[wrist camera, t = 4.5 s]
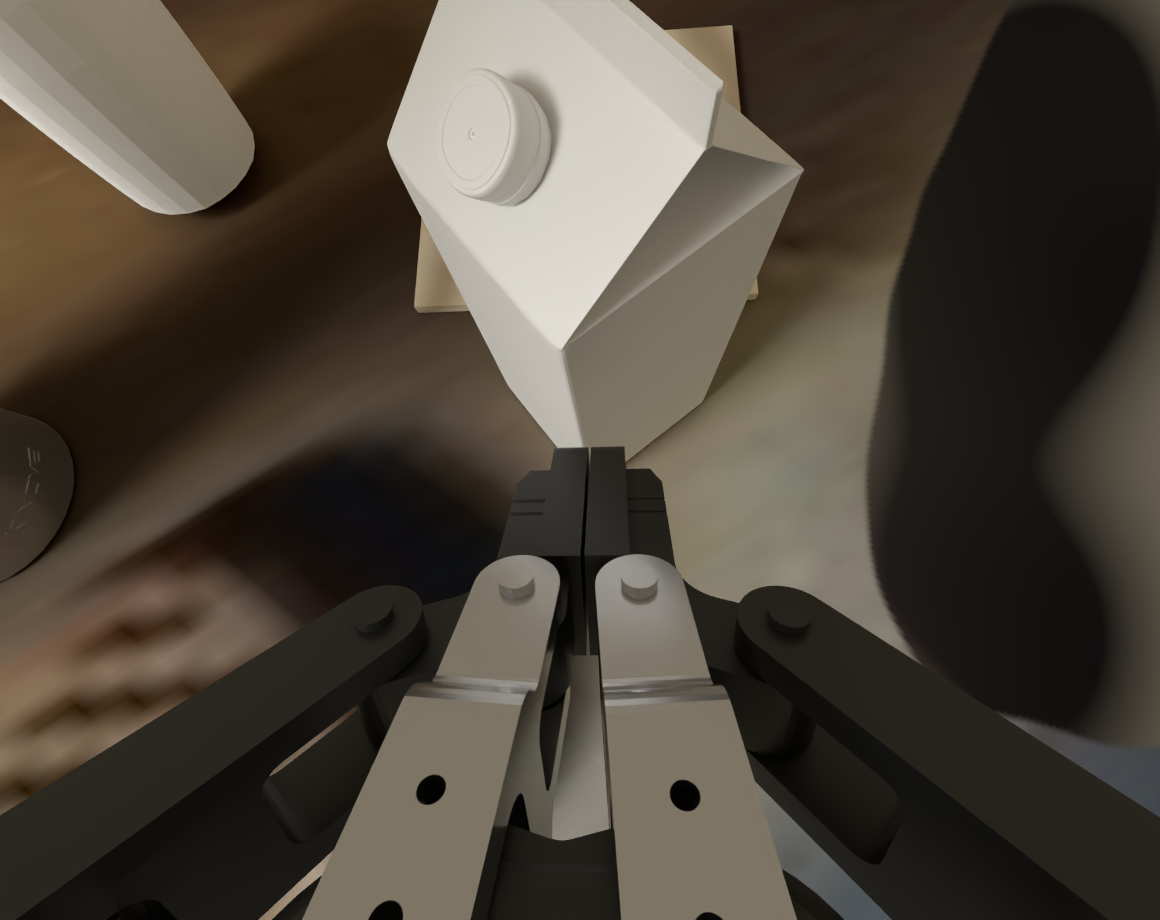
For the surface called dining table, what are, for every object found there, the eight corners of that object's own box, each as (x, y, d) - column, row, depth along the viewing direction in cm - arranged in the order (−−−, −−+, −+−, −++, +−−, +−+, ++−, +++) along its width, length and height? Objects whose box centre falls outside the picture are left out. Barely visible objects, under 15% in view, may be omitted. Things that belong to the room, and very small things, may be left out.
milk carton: (614, 305, 28) (607, -240, 10) (703, 403, 26) (897, -37, 8) (506, 385, 27) (283, -44, 9) (591, 490, 26) (526, 224, 7)
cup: (127, 150, 33) (-217, -164, 20) (252, 98, 34) (1, -245, 20) (155, 256, 31) (-210, -14, 17) (289, 199, 31) (35, -110, 18)
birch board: (418, 312, 29) (414, 306, 28) (439, 56, 33) (436, 46, 33) (755, 299, 28) (758, 293, 27) (730, 35, 32) (732, 25, 32)
